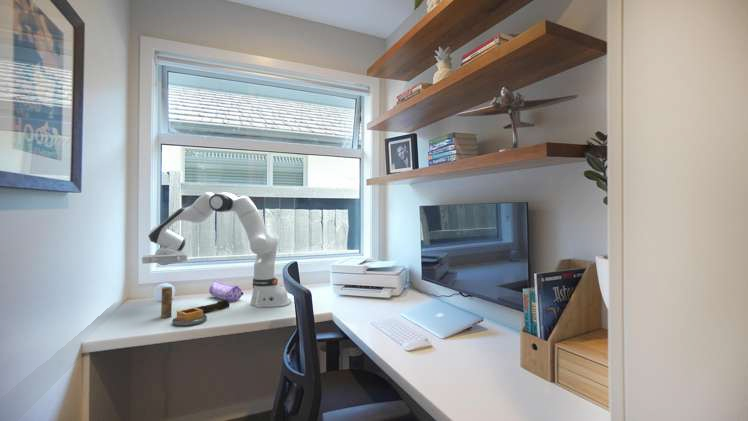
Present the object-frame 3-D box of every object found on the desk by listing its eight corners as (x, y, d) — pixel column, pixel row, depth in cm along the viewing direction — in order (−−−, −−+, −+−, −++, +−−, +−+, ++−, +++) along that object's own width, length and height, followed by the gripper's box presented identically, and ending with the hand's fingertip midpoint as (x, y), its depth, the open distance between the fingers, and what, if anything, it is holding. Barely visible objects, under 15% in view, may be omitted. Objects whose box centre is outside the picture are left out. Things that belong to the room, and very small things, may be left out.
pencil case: (243, 300, 191) (244, 284, 191) (229, 303, 183) (229, 287, 183) (221, 294, 202) (221, 279, 202) (206, 298, 194) (207, 282, 195)
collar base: (197, 315, 161) (197, 305, 161) (212, 320, 154) (212, 310, 154) (166, 322, 150) (166, 311, 150) (181, 328, 142) (181, 317, 142)
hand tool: (193, 316, 160) (194, 307, 160) (190, 314, 162) (190, 305, 162) (231, 308, 174) (231, 299, 174) (227, 307, 177) (228, 298, 177)
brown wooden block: (170, 314, 161) (171, 286, 161) (171, 317, 158) (172, 288, 158) (161, 316, 159) (161, 287, 159) (161, 318, 155) (162, 289, 156)
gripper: (141, 252, 174) (141, 255, 162) (185, 250, 185) (188, 253, 174) (141, 264, 174) (141, 267, 162) (185, 261, 185) (188, 264, 174)
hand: (166, 260), depth 168 cm, fingers open, 8 cm apart
